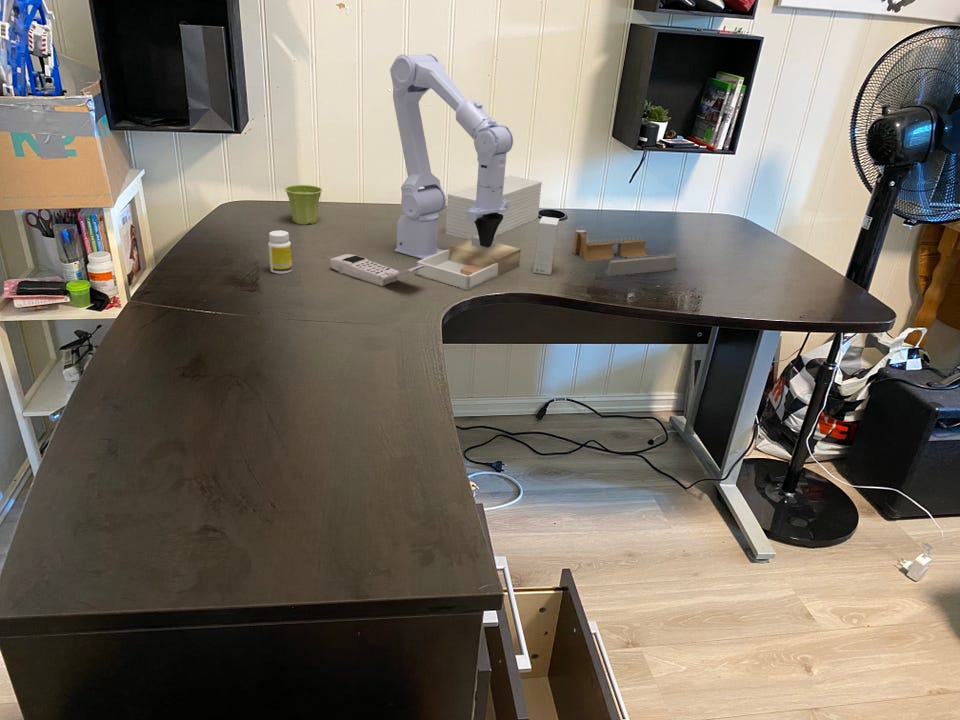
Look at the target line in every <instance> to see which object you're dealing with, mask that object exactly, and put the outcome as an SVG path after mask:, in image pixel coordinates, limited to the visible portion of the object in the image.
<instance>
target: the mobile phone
mask: <svg viewBox="0 0 960 720" xmlns="http://www.w3.org/2000/svg"><path fill="white" fill-rule="evenodd" d="M329 266H330V268H331V269H333V270H335V271H337V272H338V273H339V274H343V275H346V276H349V277H353V278H355V279H358V280H362V281H364V282H367V283H370V284H374V285H377V286H380V287H383V286H386V284H387V285H388V283H389V284H391V282H392V283H393V282H397V281H398V277H400V276H402V275H403V276H404V275H405V274H409V273H412V272H414V271H416V270H417V269H420V268H422V267H425V266H426V264H422V265H419V266H416V265H415V266H414V267H411V268H407V269H405V270H402V271H399V270H397V269H394V268H391V267H389V266H385V265H383V264H379V263H377V262H375V261H371V260H369V259H368V258H366V257H364V256H360V255H357V254H356V255H355V254H351V253H350V254H349V253H346V254H341V255H338V256H336V257H332V258H329Z"/></svg>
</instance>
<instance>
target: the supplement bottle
mask: <svg viewBox="0 0 960 720" xmlns="http://www.w3.org/2000/svg"><path fill="white" fill-rule="evenodd" d="M268 235H269V237H268V238H269V241H268V243H267V245H268V246H267V247H268V261H269V263H268V264H269V269H270V270H269V271H270V272H272V273H274V274H278V275H279V274H280V275H284V274H289V273H291V272H292V271H293V255H292V242H291V241H290V235H289V232H288V231H285V230H272V231H270V232H269V233H268Z"/></svg>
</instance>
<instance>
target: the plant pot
mask: <svg viewBox="0 0 960 720" xmlns="http://www.w3.org/2000/svg"><path fill="white" fill-rule="evenodd" d="M284 192H286V195H287V197H288V202H289V206H290V211H291V216H292V222H294V223H295V224H298V225H308V224H312V225H313V224H315V223H317V220H318V213H319V203H320V197H321V193H322V192H323V188H322V187H319V186H316V185H310V184H295V185H289V186H286V187H285V188H284Z"/></svg>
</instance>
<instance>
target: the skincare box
mask: <svg viewBox="0 0 960 720" xmlns="http://www.w3.org/2000/svg"><path fill="white" fill-rule="evenodd" d="M559 223H560V218H557V217H552V216H551V217H549V216H543V215H542V217H541V218H540V219H539V222H538V227H537V234H536V235H537V237H536V242H535V243H536V244H535V253H534V259H533V260H534V261H533V268H532V269H533V270H532V272H533V274H541V275H550V276H551V275H552V271H553V268H554V262H555V255H556V248H557V239H558V233H559Z"/></svg>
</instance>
